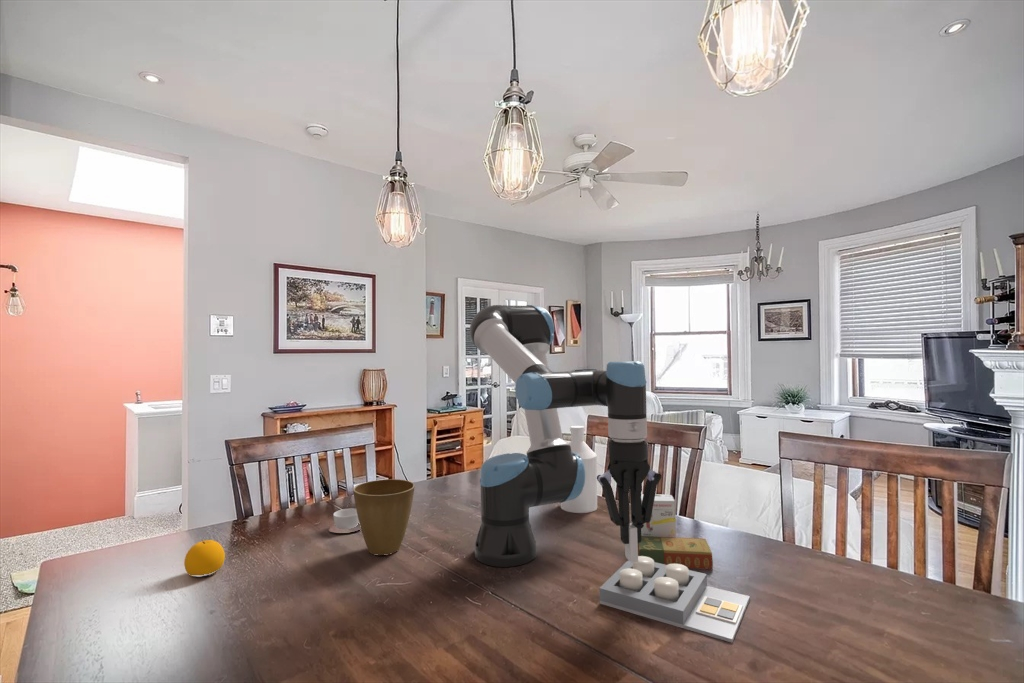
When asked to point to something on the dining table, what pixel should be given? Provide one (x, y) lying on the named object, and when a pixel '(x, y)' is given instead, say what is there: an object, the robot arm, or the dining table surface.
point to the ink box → (661, 518)
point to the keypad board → (705, 621)
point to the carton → (677, 551)
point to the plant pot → (383, 513)
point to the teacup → (346, 518)
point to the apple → (204, 558)
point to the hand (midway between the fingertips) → (631, 559)
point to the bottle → (589, 493)
